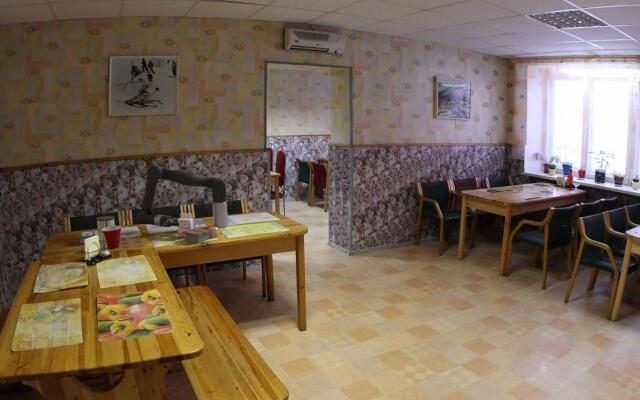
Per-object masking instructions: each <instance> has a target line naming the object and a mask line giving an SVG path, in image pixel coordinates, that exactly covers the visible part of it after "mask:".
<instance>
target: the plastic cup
mask: <svg viewBox="0 0 640 400" xmlns="http://www.w3.org/2000/svg"><path fill="white" fill-rule="evenodd" d="M102 231H103V233H104V236H105V239H106V242H105V243H106V245H107V248H108V249H110V250H112V249H113V250H114V249H118V248H119V247H120V243H121V241H120V240H121V233H122V225H115V226H111V227H106V228H103V229H102Z"/></svg>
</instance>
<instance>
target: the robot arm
mask: <svg viewBox="0 0 640 400" xmlns="http://www.w3.org/2000/svg"><path fill="white" fill-rule="evenodd" d="M146 173H147V174H146V183H145V184H146V185H145V190H144V193H143V195H142V196H143V197H142V199H141V200H142V201H141V206H140V208H141V209H142V210H144V212H142V213H138V214H137V215H136V216H135V221H136V223H137V224H140V225H151V226H157V227H161V228H171V227H178V226H179V223H178V219H179V218H180V217H177V218H175V217H172V216H171V215H166V214H153V206H154V201H155V196H156V190H157V186H158V182H159V180H167V181H170V182H173V183H175V184H179V185H181V186H187V187H193V188H194V187H197V188H208V189H211V192H212V193H211V195H212V198H211V199H212V215H213V216H212V217H213V220H212V221H213V227H218V229H222V228H227V227H228V225H229V220H228V219H229V218H228V217H229V216H228V215H229V214H228V213H229V212H228V211H227V210H228V208H227V206H228V205H227V204H228V203H227V184H226V181H225V180H224V179H223V178H220V177H211V176H205V175H203V174H198V173H194V172H190V171H187V170H180V169H179V170H178V169H177V170H176V169H170V168H165V167H163V166H160V165H157V164H153V165H150V166H149V167H148V168H147V170H146Z"/></svg>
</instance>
